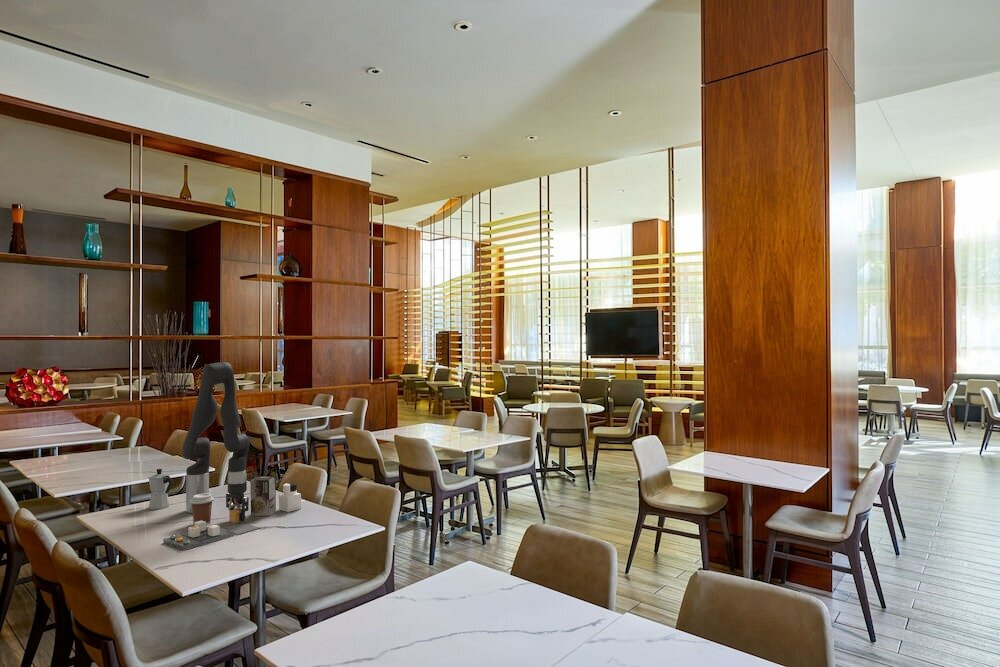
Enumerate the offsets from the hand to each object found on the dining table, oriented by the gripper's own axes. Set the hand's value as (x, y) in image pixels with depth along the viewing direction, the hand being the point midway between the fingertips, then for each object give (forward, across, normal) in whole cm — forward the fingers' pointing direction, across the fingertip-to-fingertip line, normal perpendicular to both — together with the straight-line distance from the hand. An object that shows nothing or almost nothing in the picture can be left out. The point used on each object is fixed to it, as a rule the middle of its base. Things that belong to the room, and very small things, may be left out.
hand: (237, 519), depth 249 cm
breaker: (-1, +14, -18) cm, 23 cm away
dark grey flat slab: (+1, +9, -21) cm, 23 cm away
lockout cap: (+1, 0, 0) cm, 1 cm away
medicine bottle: (+1, +3, +24) cm, 24 cm away
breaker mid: (-1, +9, -23) cm, 25 cm away
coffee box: (+1, -1, +13) cm, 13 cm away
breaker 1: (-1, +4, -18) cm, 18 cm away
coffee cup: (+1, -10, -10) cm, 14 cm away
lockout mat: (+1, +12, -5) cm, 13 cm away
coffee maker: (+1, -51, -8) cm, 52 cm away
